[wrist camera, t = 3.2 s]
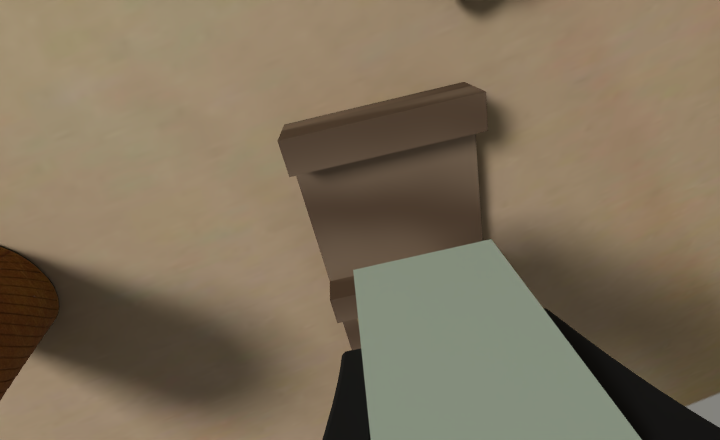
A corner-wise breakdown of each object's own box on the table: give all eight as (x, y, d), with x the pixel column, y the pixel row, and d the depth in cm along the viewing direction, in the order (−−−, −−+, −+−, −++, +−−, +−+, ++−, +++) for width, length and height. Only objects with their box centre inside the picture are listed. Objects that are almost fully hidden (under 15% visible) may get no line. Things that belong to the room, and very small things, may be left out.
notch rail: (491, 431, 28) (505, 466, 26) (387, 452, 28) (392, 488, 26) (464, 81, 16) (485, 91, 14) (284, 124, 16) (277, 141, 14)
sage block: (496, 339, 12) (621, 573, 7) (379, 364, 13) (416, 611, 7) (491, 239, 11) (654, 456, 5) (352, 269, 11) (377, 511, 5)
